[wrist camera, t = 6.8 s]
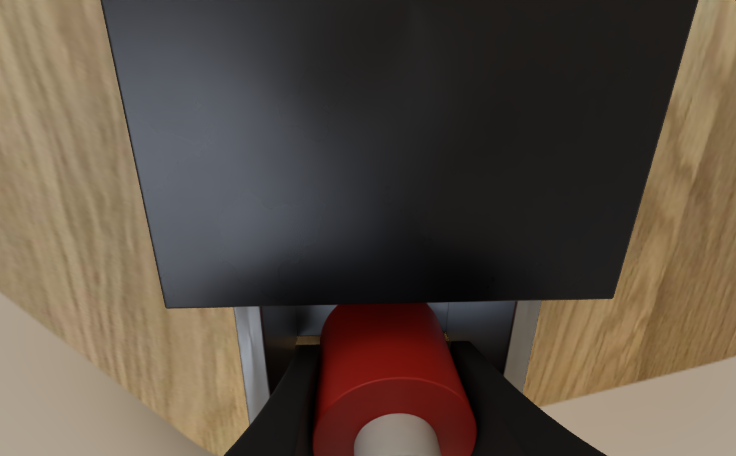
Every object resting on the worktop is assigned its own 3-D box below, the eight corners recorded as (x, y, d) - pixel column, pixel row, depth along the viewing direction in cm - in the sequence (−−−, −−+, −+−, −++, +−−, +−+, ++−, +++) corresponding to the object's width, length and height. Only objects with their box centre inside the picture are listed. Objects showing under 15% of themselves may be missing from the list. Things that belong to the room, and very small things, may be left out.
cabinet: (489, 193, 19) (614, 299, 10) (249, 195, 19) (164, 309, 10) (537, -168, 14) (860, -559, 5) (210, -185, 14) (-43, -662, 5)
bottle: (435, 384, 15) (482, 541, 10) (322, 388, 15) (311, 550, 10) (445, 285, 14) (506, 414, 9) (318, 288, 13) (303, 422, 8)
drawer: (456, 414, 24) (506, 567, 16) (279, 420, 23) (250, 583, 16) (493, 127, 17) (601, 169, 10) (251, 126, 17) (181, 170, 9)
